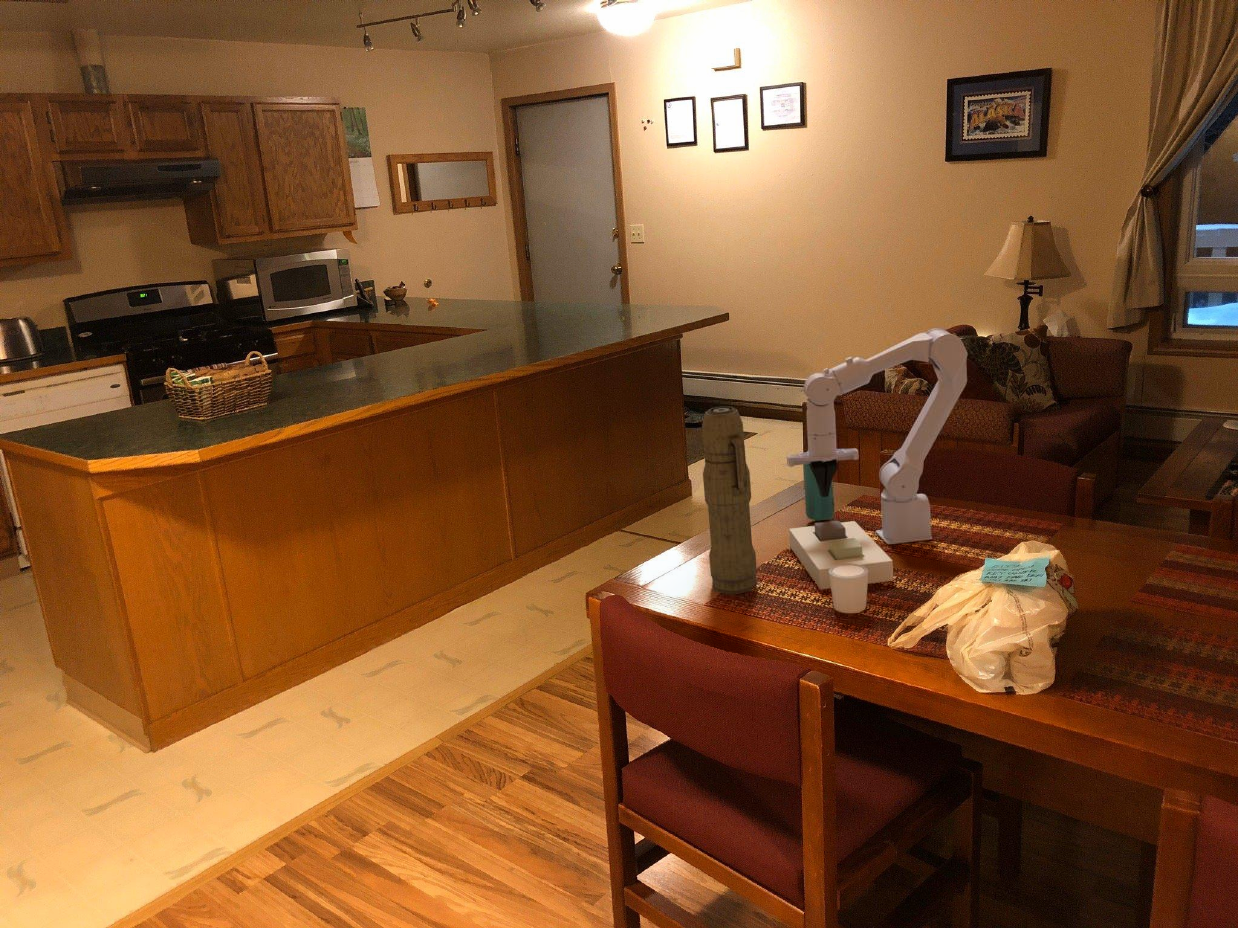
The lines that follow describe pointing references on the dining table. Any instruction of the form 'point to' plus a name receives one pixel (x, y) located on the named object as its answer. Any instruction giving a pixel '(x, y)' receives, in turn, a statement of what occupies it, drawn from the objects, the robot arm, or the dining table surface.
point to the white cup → (849, 587)
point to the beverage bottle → (816, 497)
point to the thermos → (728, 502)
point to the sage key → (845, 549)
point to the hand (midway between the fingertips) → (824, 495)
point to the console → (820, 560)
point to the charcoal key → (829, 530)
